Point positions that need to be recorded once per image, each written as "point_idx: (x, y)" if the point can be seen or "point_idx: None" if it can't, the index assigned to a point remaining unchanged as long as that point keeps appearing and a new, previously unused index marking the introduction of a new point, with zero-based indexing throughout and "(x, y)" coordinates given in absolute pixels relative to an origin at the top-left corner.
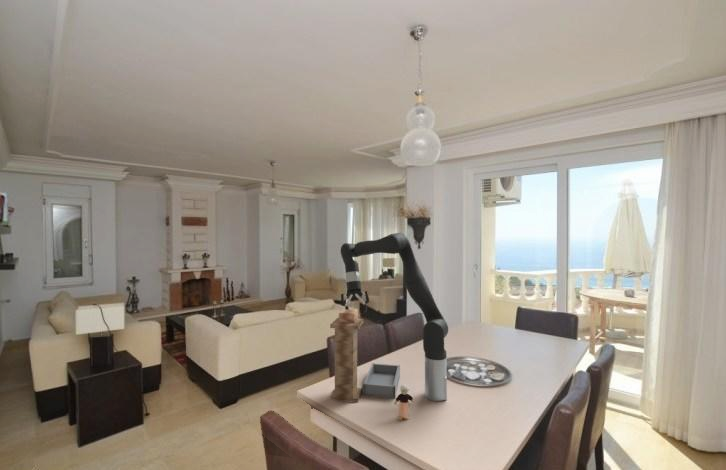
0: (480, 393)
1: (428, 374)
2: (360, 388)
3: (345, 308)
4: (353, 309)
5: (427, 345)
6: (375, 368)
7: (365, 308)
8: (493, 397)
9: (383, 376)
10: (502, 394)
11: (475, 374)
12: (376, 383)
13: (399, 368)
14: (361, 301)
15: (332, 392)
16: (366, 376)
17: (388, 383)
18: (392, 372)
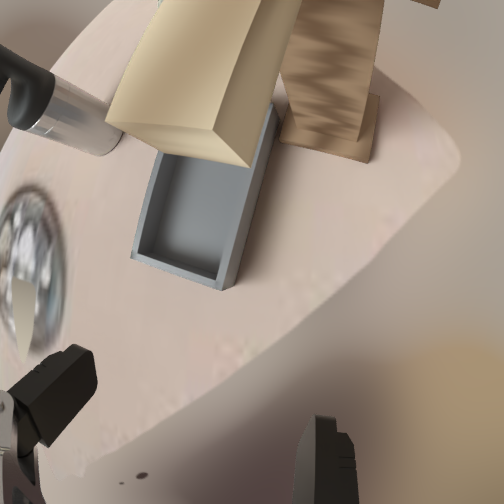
0: (41, 158)
1: (84, 93)
2: (285, 136)
3: (355, 492)
4: (196, 31)
5: (29, 62)
6: (215, 276)
7: (43, 369)
8: (35, 146)
9: (198, 237)
10: (23, 160)
11: (22, 248)
12: (228, 181)
13: (136, 239)
14: (5, 449)
15: (376, 116)
16: (256, 160)
17: (191, 181)
18: (165, 258)
